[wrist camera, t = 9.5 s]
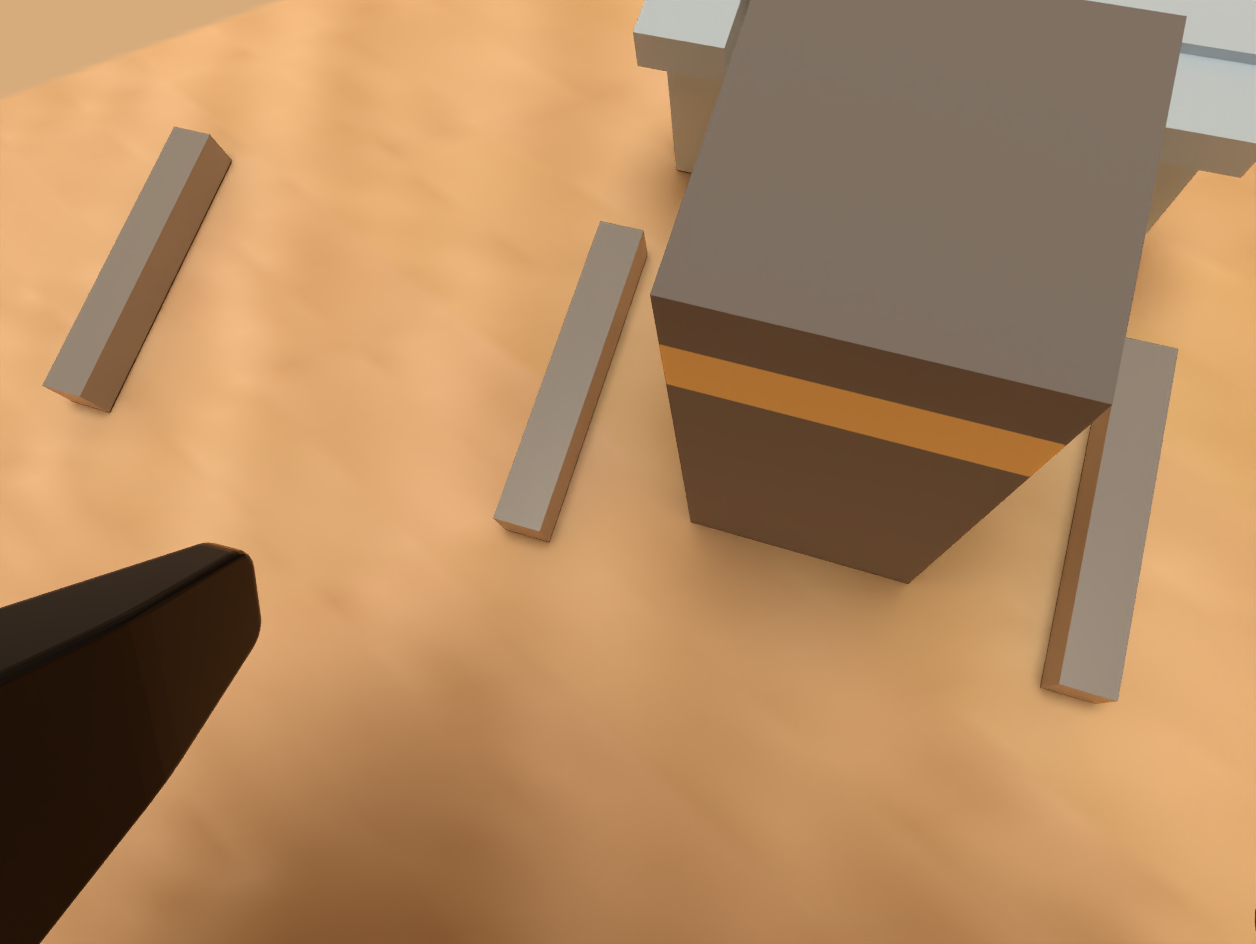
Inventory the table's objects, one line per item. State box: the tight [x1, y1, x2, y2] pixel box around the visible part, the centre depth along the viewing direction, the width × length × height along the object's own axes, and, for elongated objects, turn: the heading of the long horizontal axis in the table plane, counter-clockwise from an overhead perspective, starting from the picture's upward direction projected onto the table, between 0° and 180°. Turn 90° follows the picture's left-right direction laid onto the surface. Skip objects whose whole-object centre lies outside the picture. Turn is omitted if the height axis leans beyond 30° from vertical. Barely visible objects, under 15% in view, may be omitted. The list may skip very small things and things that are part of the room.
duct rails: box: [42, 0, 1256, 703], centre depth 17 cm, size 10×23×6 cm, turn 72°
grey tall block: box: [650, 0, 1187, 584], centre depth 14 cm, size 4×4×10 cm
